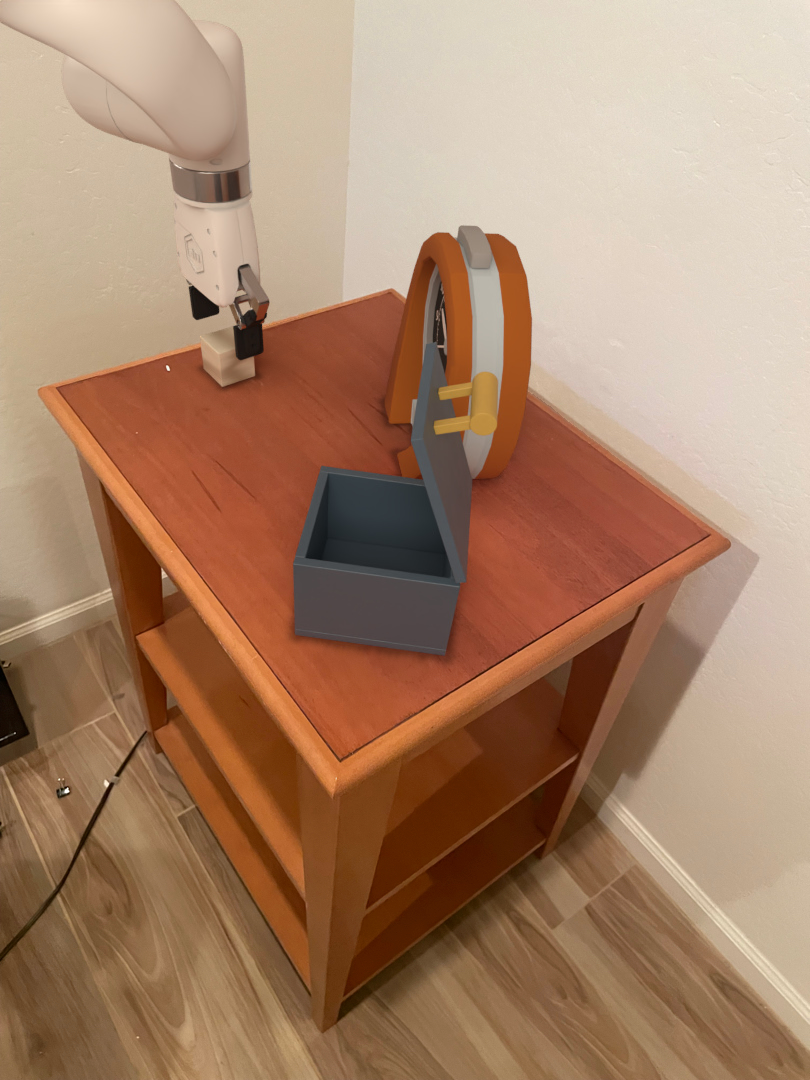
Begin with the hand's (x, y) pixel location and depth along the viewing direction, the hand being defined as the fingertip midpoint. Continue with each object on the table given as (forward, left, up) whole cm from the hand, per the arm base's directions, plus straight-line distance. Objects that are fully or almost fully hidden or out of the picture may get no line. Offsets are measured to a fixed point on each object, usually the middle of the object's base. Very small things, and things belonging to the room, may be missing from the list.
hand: (227, 335), depth 83 cm
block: (0, 0, -5) cm, 5 cm away
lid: (+13, -37, +11) cm, 41 cm away
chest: (+10, -36, -5) cm, 38 cm away
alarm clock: (+21, -15, -5) cm, 26 cm away
